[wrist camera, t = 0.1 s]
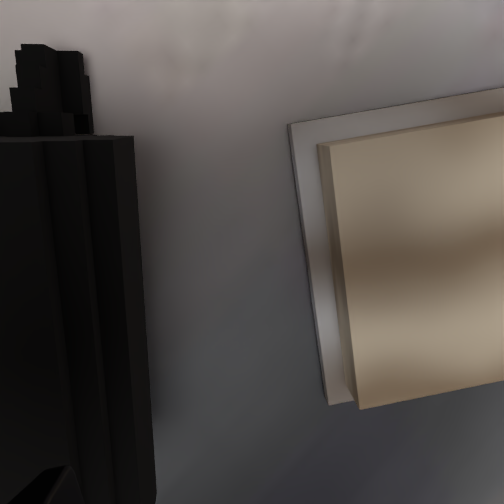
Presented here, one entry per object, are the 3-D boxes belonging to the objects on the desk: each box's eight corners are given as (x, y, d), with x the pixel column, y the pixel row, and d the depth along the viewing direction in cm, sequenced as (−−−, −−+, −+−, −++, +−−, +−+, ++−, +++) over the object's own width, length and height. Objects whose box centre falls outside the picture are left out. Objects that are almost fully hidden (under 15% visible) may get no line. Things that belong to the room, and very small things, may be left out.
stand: (524, 356, 25) (565, 385, 23) (324, 396, 25) (340, 432, 22) (523, 83, 22) (572, 77, 19) (287, 124, 21) (300, 124, 18)
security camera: (144, 57, 20) (88, -6, 10) (165, 438, 25) (141, 640, 15) (-31, 55, 19) (-268, -15, 9) (27, 447, 24) (-91, 664, 14)
